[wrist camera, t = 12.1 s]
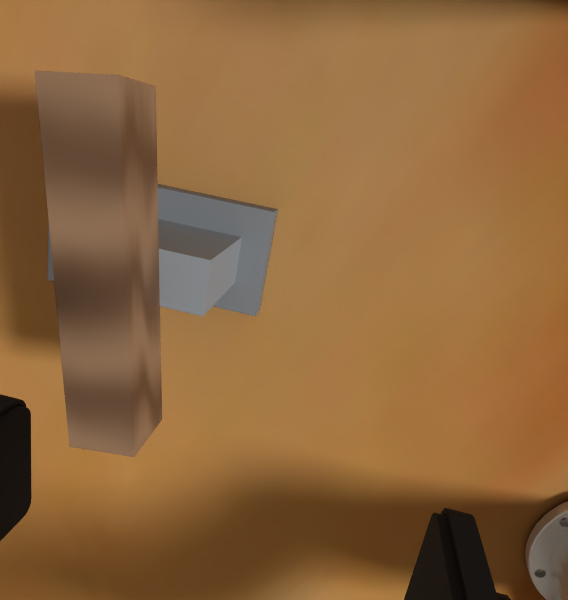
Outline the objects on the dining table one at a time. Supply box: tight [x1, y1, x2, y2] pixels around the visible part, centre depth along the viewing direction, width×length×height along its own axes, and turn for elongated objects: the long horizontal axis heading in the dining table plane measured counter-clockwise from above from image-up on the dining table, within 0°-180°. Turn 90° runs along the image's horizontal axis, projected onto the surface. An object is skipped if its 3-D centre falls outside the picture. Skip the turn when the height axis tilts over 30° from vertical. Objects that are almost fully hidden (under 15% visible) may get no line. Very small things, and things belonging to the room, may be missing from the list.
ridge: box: [48, 184, 278, 316], centre depth 32 cm, size 8×14×9 cm, turn 79°
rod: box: [35, 71, 162, 457], centre depth 26 cm, size 20×4×4 cm, turn 176°
